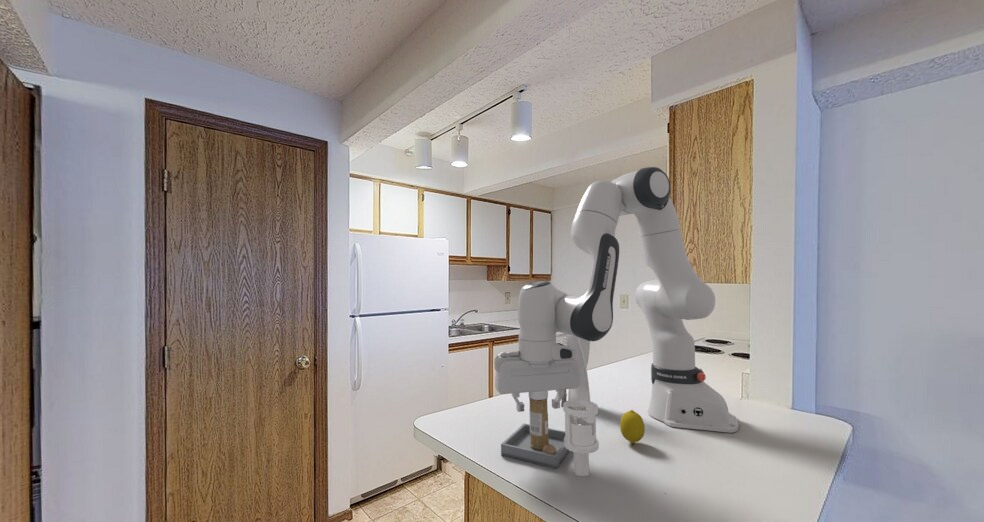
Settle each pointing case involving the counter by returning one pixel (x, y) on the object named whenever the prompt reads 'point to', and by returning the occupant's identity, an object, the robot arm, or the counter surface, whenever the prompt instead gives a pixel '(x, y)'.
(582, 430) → the white hollow mechanical part
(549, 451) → the wooden ball
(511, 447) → the tray
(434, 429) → the counter surface
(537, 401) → the sprinkles bottle
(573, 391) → the skyscraper
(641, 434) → the lemon
